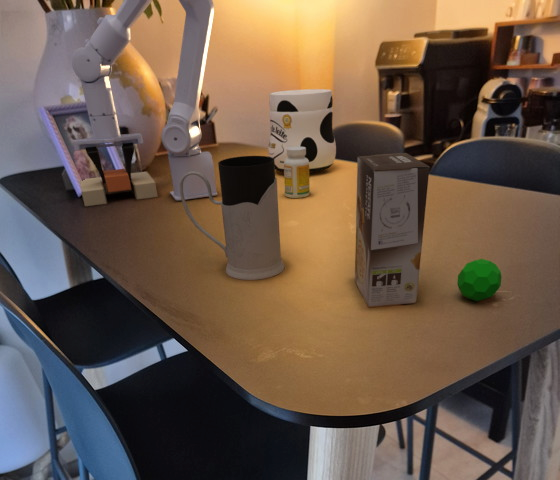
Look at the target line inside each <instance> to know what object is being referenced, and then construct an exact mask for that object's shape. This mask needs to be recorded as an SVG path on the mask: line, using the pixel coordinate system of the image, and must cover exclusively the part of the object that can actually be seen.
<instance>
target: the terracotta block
mask: <svg viewBox="0 0 560 480" xmlns="http://www.w3.org/2000/svg"><path fill="white" fill-rule="evenodd" d="M103 173H104V176H105V181H106V187H107V190H108V192H116V191H124V190H131V186H130V181H129V176H128V174H127V172H126V168H118V169H117V168H116V169H110V170H109V169H107V170H103Z"/></svg>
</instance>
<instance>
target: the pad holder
mask: <svg viewBox="0 0 560 480" xmlns="http://www.w3.org/2000/svg"><path fill="white" fill-rule="evenodd" d="M84 179H85V180H83V181H81V182H80V181H79V186H80V192H81V196H82V200H83V203H84V207H86V208H87V207H91V206H100V205H108V200H107V195H112V194H120V193H121V194H122V193H127V192H132V195H133V196H134V198H135V200H136V201H137V200H145V199H152V198H158V191H157V185H156V182H155V180H154V179H153V177H152V176H151V175H150V174H149V172H148V171H139V172H131V180H129V181H130V186H131V190H124V191H116V192H108V190H107V187H106V183H104V184H103V182H102V178H101V176H97V177H89V178H84Z"/></svg>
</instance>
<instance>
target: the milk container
mask: <svg viewBox="0 0 560 480" xmlns="http://www.w3.org/2000/svg"><path fill="white" fill-rule="evenodd" d="M333 101H334V99H333V91H332V89H326V88H322V89H321V88H307V89H305V88H304V89H291V90H289V89H288V90H280V91H272V92H270V94H269V104H268V106H269V124H270V136H269V142H268V148H267V153H268V157H272V158H274V161H275V171H279V172H282V173H284V161H285V160H286V159H287V158H288V156H287V148H289V147H297V146H300V147H305V148H306V155H305V158H307V159H308V160H309V174H310V173H316V172H321V171H323V170H326V169H329V168H330V167H331V166H332V165H334V163H335V160H336V155H337V145H336V139H335V134H334V129H333V128H334V127H333V119H334V117H333V116H334V115H333V113H334V109H333V106H334V105H333V103H334V102H333Z"/></svg>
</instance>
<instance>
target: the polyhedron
mask: <svg viewBox="0 0 560 480" xmlns="http://www.w3.org/2000/svg"><path fill="white" fill-rule="evenodd" d="M456 282H457V283H456V284H457V287H458V290H459V292H460V293H461V295H462V296H463V297H465V298H466V299H469V300H470V301H474V302H480V301H483V300H486V299H489V298H493V296H494V295H495V294H496V293H497V292H498V290H499V289H500V288H501V285H502V272H501V270H500V268H499V266H497V264H496V263H494V262H492V261H491V260H488V259H484V258H479V259H475V260H472V261H469V262H467V263H466V264H465V265H464V267H463V268H462V270H460V272H459V273H458V275H457V281H456Z"/></svg>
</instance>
